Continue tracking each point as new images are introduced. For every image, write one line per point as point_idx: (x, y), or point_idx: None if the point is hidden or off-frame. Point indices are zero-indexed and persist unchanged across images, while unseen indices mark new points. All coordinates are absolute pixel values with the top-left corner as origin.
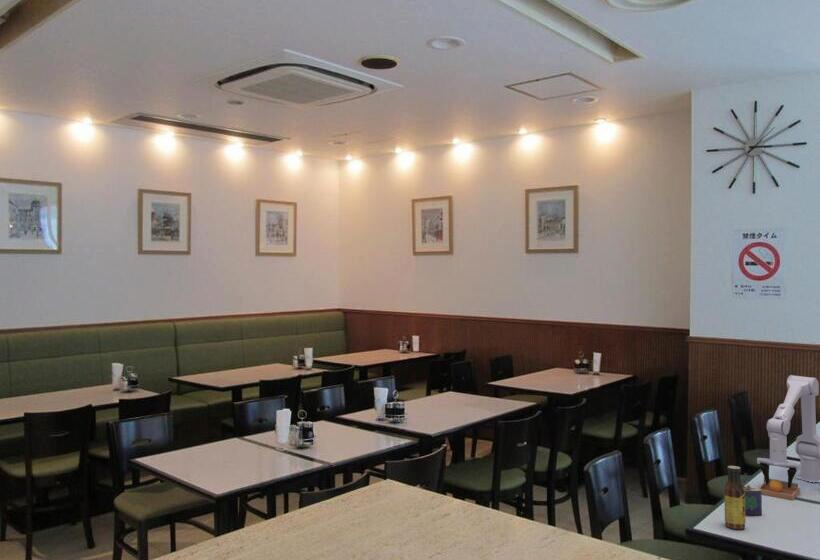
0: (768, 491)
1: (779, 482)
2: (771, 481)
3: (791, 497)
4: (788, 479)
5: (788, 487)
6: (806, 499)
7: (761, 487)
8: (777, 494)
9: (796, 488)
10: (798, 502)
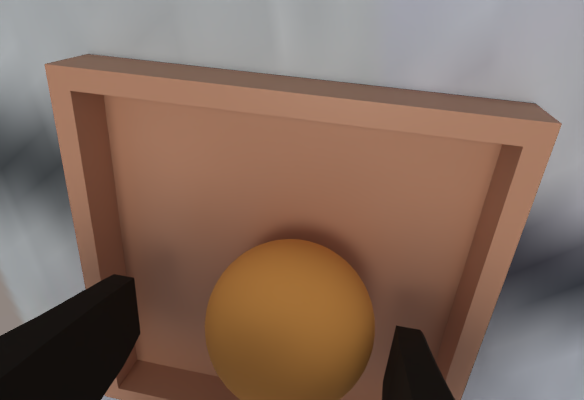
0: (370, 102)
1: (222, 337)
2: (339, 350)
3: (75, 60)
4: (34, 349)
5: (126, 276)
6: (13, 187)
7: (476, 274)
8: (245, 80)
9: (133, 384)
10: (16, 15)
